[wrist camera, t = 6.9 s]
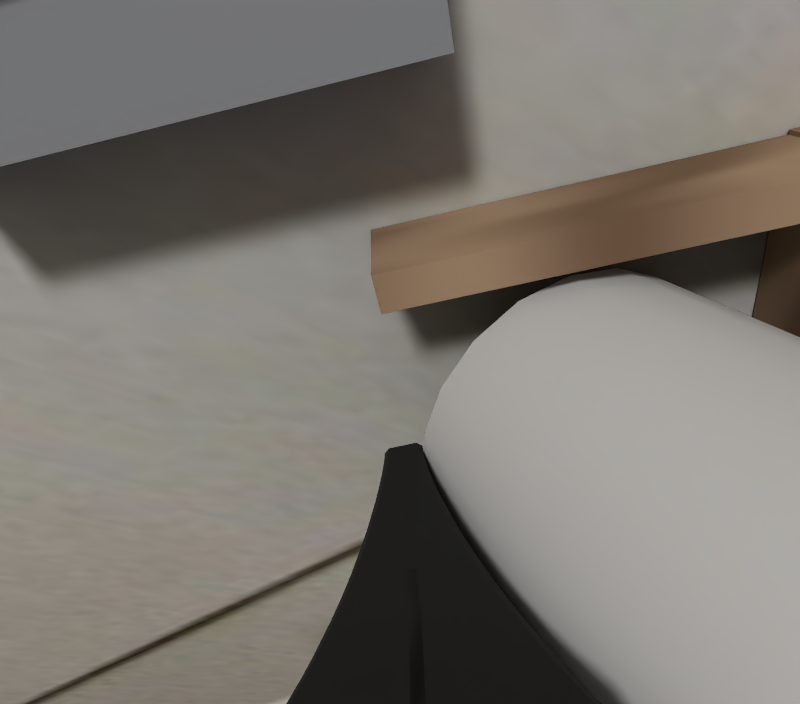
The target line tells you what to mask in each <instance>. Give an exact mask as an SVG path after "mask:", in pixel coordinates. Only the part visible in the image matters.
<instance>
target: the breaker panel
mask: <svg viewBox="0 0 800 704" xmlns="http://www.w3.org/2000/svg"><path fill="white" fill-rule="evenodd" d="M451 53H454V46H453V38H452V31H451V23H450V16H449V8H448V1H447V0H0V167H1V166H5V165H9V164H13V163H17V162H21V161H25V160H29V159H33V158H37V157H41V156H45V155H49V154H53V153H57V152H61V151H65V150H69V149H73V148H77V147H81V146H85V145H89V144H93V143H97V142H100V141H104V140H108V139H112V138H116V137H120V136H124V135H128V134H132V133H136V132H140V131H144V130H148V129H152V128H156V127H160V126H164V125H168V124H172V123H176V122H180V121H184V120H188V119H192V118H196V117H200V116H204V115H208V114H212V113H216V112H220V111H224V110H228V109H232V108H236V107H240V106H244V105H248V104H252V103H256V102H260V101H264V100H268V99H272V98H276V97H280V96H284V95H288V94H292V93H296V92H300V91H304V90H308V89H312V88H316V87H320V86H324V85H328V84H332V83H336V82H340V81H344V80H348V79H352V78H356V77H360V76H364V75H368V74H372V73H376V72H380V71H384V70H388V69H392V68H395V67H399V66H403V65H407V64H411V63H415V62H419V61H423V60H427V59H431V58H435V57H439V56H443V55H447V54H451Z"/></svg>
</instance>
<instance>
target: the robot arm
mask: <svg viewBox="0 0 800 704" xmlns="http://www.w3.org/2000/svg"><path fill="white" fill-rule="evenodd" d="M287 704H602V703H601V702H600V701H599V700H598V699H597V698H596V697H595V696H594V695H593V694H592V693H591V692H590V691H589V690H588V689H587V688H586V687H585V686H584V685H583V684H582V683H581V682H580V681H579V680H578V679H577V678H576V676H575V675H574V674H573V673H572V672H571V671H570V670H569V669H568V668H567V667H566V666H565V665H564V664H563V662H562V661H561V660H560V659H559V658H558V657H557V656H556V655H555V654H554V653H553V651H552V650H551V649H550V648H549V647H548V646H547V644H546V643H545V642H544V641H543V640H542V639H541V637H540V636H539V635H538V634H537V633H536V632H535V631H534V629H533V628H532V627H531V626H530V625H529V624H528V622H527V621H526V620H525V619H524V618H523V617H522V615H521V614H520V613H519V612H518V611H517V609H516V608H515V607H514V605H513V604H512V603H511V602H510V600H509V599H508V598H507V597H506V595H505V594H504V593H503V591H502V590H501V589H500V588H499V586H498V585H497V583H496V582H495V581H494V579H493V578H492V577H491V575H490V574H489V573H488V571H487V570H486V569H485V567H484V566H483V564H482V563H481V561H480V560H479V559H478V557H477V556H476V554H475V553H474V551H473V550H472V548H471V547H470V545H469V543H468V542H467V540H466V539H465V537H464V536H463V534H462V533H461V531H460V529H459V528H458V526H457V524H456V523H455V521H454V519H453V518H452V516H451V514H450V512H449V510H448V509H447V507H446V505H445V503H444V501H443V500H442V498H441V496H440V494H439V492H438V490H437V488H436V486H435V483H434V481H433V479H432V477H431V474H430V472H429V469H428V467H427V464H426V461H425V457H424V452H423V448H422V446H421V445H419V444H417V443H413V444H408V445H404V446H399V447H394V448H390V449H388V451H387V452H386V453H385V460H384V466H383V472H382V477H381V482H380V486H379V490H378V494H377V498H376V502H375V505H374V509H373V512H372V515H371V519H370V522H369V526H368V529H367V532H366V535H365V538H364V541H363V544H362V546H361V549H360V552H359V555H358V558H357V560H356V563H355V566H354V569H353V571H352V574H351V576H350V579H349V581H348V584H347V586H346V589H345V591H344V593H343V596H342V598H341V600H340V602H339V605H338V607H337V609H336V611H335V613H334V616H333V618H332V620H331V622H330V624H329V626H328V628H327V630H326V632H325V634H324V636H323V638H322V640H321V642H320V644H319V646H318V648H317V650H316V652H315V654H314V656H313V658H312V660H311V662H310V664H309V665H308V667H307V669H306V671H305V673H304V675H303V676H302V678H301V680H300V682H299V683H298V685H297V687H296V688H295V690H294V692H293V694H292V695H291V697H290V699H289V700H288V702H287Z"/></svg>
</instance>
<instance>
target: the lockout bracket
mask: <svg viewBox="0 0 800 704" xmlns="http://www.w3.org/2000/svg"><path fill="white" fill-rule="evenodd" d="M769 230H770V231H769ZM764 231H769V236H768V241H767V246H766V251H765V256H764V262H763V267H762V272H761V277H760V282H759V287H758V292H757V297H756V303H755V308H754V313H753V318H755V319H757V320H760V321H762V322H764V323H767V324H769V325H772V326H774V327H776V328H779V329H781V330H784V331H786V332H788V333H791V334H793V335H795V336H798V337H800V127H799V128H794V129H790V130H789V133H788V135H785V136H781V137H776V138H772V139H767V140H763V141H759V142H754V143H750V144H745V145H741V146H737V147H732V148H728V149H724V150H719V151H715V152H710V153H706V154H702V155H697V156H693V157H689V158H684V159H680V160H675V161H671V162H667V163H662V164H658V165H653V166H649V167H645V168H640V169H636V170H632V171H627V172H623V173H618V174H614V175H610V176H605V177H601V178H597V179H592V180H588V181H583V182H579V183H575V184H570V185H566V186H561V187H557V188H553V189H548V190H544V191H540V192H535V193H531V194H526V195H522V196H518V197H513V198H509V199H505V200H500V201H496V202H491V203H487V204H483V205H478V206H474V207H470V208H465V209H461V210H456V211H452V212H448V213H443V214H439V215H434V216H430V217H426V218H421V219H417V220H413V221H408V222H404V223H399V224H395V225H391V226H386V227H382V228H378V229H373V230H371V276H372V280H373V284H374V288H375V291H376V295H377V299H378V303H379V306H380V310H381V314H384V313H389V312H393V311H398V310H403V309H407V308H412V307H417V306H421V305H426V304H431V303H435V302H440V301H444V300H449V299H454V298H458V297H463V296H468V295H472V294H477V293H482V292H486V291H491V290H495V289H500V288H505V287H509V286H514V285H519V284H523V283H528V282H532V281H537V280H542V279H546V278H551V277H556V276H560V275H565V274H570V273H574V272H579V271H583V270H588V269H593V268H597V267H602V266H607V265H611V264H616V263H621V262H625V261H630V260H634V259H639V258H644V257H648V256H653V255H658V254H662V253H667V252H671V251H676V250H681V249H685V248H690V247H695V246H699V245H704V244H709V243H713V242H718V241H722V240H727V239H732V238H736V237H741V236H746V235H750V234H755V233H759V232H764Z"/></svg>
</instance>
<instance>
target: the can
mask: <svg viewBox="0 0 800 704" xmlns="http://www.w3.org/2000/svg"><path fill="white" fill-rule="evenodd" d="M424 457H425V461H426V464H427V467H428V469H429V472H430V474H431V477H432V479H433V481H434V483H435V486H436V488H437V490H438V492H439V494H440V496H441V498H442V500H443V501H444V503H445V505H446V507H447V509H448V510H449V512H450V514H451V516H452V518H453V519H454V521H455V523H456V524H457V526H458V528H459V529H460V531H461V533H462V534H463V536H464V537H465V539H466V540H467V542H468V543H469V545H470V547H471V548H472V550H473V551H474V553H475V554H476V556H477V557H478V559H479V560H480V561H481V563H482V564H483V566H484V567H485V569H486V570H487V571H488V573H489V574H490V575H491V577H492V578H493V579H494V581H495V582H496V583H497V585H498V586H499V588H500V589H501V590H502V591H503V593H504V594H505V595H506V597H507V598H508V599H509V600H510V602H511V603H512V604H513V605H514V607H515V608H516V609H517V611H518V612H519V613H520V614H521V615H522V617H523V618H524V619H525V620H526V621H527V622H528V624H529V625H530V626H531V627H532V628H533V629H534V631H535V632H536V633H537V634H538V635H539V636H540V637H541V639H542V640H543V641H544V642H545V643H546V644H547V646H548V647H549V648H550V649H551V650H552V651H553V653H554V654H555V655H556V656H557V657H558V658H559V659H560V660H561V661H562V662H563V664H564V665H565V666H566V667H567V668H568V669H569V670H570V671H571V672H572V673H573V674H574V675H575V676H576V678H577V679H578V680H579V681H580V682H581V683H582V684H583V685H584V686H585V687H586V688H587V689H588V690H589V691H590V692H591V693H592V694H593V695H594V696H595V697H596V698H597V699H598V700H599V701H600V702H601V703H602V704H800V337H798V336H795V335H793V334H791V333H788V332H786V331H784V330H781V329H779V328H776V327H774V326H772V325H769V324H767V323H764V322H762V321H760V320H757V319H755V318H753V317H750V316H748V315H745V314H743V313H741V312H738V311H736V310H734V309H731V308H729V307H726V306H724V305H722V304H719V303H717V302H714V301H712V300H710V299H707V298H705V297H703V296H700V295H698V294H695V293H693V292H691V291H688V290H686V289H684V288H681V287H679V286H676V285H674V284H672V283H669V282H667V281H665V280H662V279H660V278H657V277H654V276H650V275H646V274H641V273H637V272H633V271H629V270H624V269H620V268H613V269H607V270H601V271H595V272H588V273H582V274H576V275H570V276H567V277H566V278H564V279H562V280H560V281H558V282H556V283H554V284H552V285H550V286H548V287H546V288H544V289H542V290H540V291H538V292H536V293H534V294H532V295H530V296H528V297H526V298H524V299H522V300H520V301H518V302H517V303H516V304H515V305H514V306H513V307H511V308H510V309H509V310H508V311H507V312H506V313H505V314H503V315H502V316H501V317H500V318H499V319H498V320H497V321H495V322H494V323H493V324H492V325H491V326H490V327H489V328H488V329H486V330H485V331H484V332H483V333H482V334H481V335H480V336H478V337H477V338H476V339H475V340H474V341H473V342H472V344H471V345H470V347H469V348H468V350H467V351H466V352H465V354H464V355H463V357H462V358H461V360H460V361H459V363H458V364H457V366H456V367H455V368H454V370H453V371H452V373H451V374H450V376H449V377H448V379H447V380H446V381H445V383H444V384H443V386H442V387H441V389H440V392H439V395H438V398H437V401H436V403H435V406H434V409H433V412H432V415H431V418H430V421H429V424H428V427H427V429H426V432H425V435H424Z"/></svg>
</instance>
